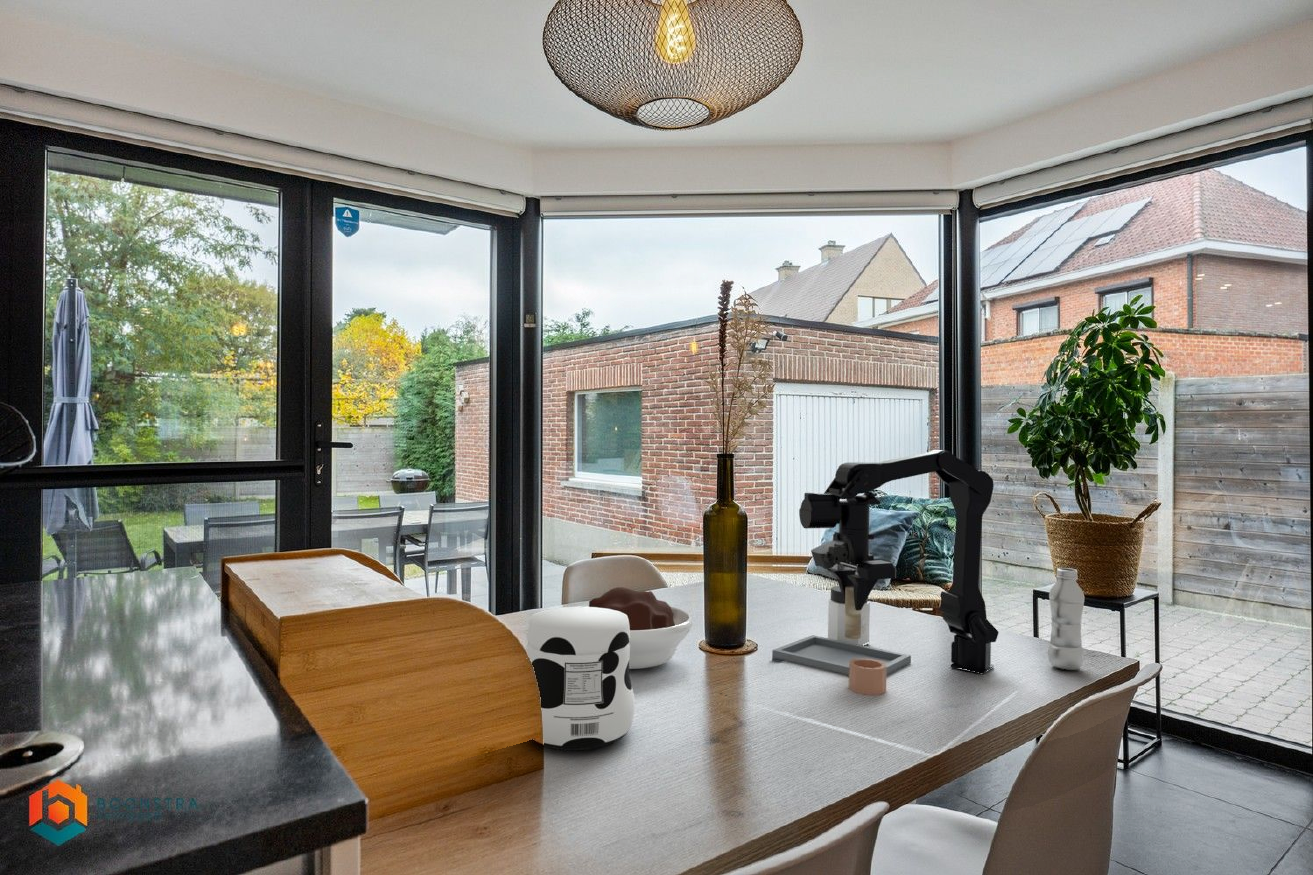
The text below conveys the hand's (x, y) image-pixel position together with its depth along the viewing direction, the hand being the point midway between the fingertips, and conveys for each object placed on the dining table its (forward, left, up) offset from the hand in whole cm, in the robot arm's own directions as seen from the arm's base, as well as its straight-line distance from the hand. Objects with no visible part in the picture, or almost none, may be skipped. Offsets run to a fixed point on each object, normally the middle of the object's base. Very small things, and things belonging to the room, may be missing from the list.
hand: (853, 608), depth 149 cm
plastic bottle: (-30, -34, -13) cm, 47 cm away
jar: (+11, -21, -13) cm, 27 cm away
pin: (0, 0, -6) cm, 6 cm away
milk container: (+16, +57, -13) cm, 61 cm away
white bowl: (+36, +24, -13) cm, 46 cm away
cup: (-7, +7, -13) cm, 16 cm away
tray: (+5, -6, -13) cm, 15 cm away
